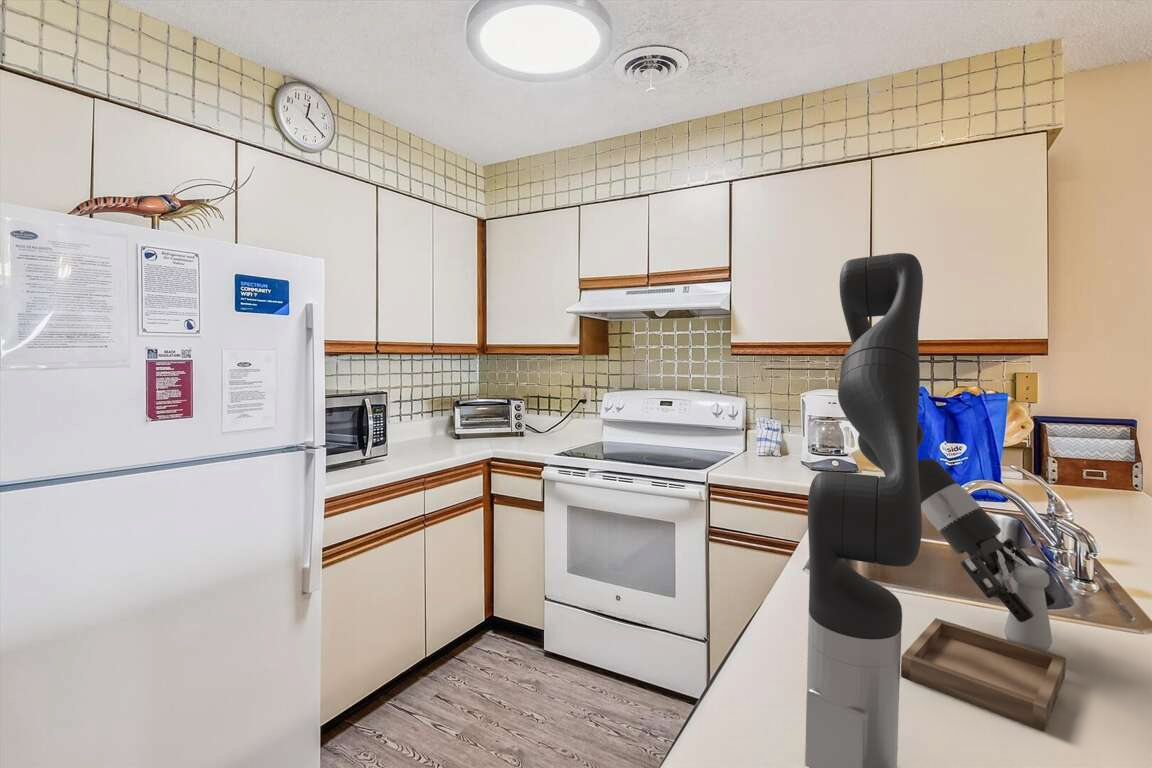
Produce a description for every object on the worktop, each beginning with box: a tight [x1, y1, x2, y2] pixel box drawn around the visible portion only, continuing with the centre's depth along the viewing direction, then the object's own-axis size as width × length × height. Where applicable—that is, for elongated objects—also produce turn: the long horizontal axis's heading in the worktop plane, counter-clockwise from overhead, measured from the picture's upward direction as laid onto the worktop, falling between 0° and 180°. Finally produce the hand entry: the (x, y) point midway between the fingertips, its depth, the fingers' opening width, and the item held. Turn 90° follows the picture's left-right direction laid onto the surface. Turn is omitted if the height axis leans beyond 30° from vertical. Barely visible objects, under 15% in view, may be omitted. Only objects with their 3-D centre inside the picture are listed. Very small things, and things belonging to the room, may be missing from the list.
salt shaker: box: [1003, 564, 1053, 652], centre depth 87 cm, size 6×6×13 cm
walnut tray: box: [900, 617, 1066, 732], centre depth 81 cm, size 16×16×3 cm
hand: (1039, 612), depth 86 cm, fingers open, 8 cm apart
